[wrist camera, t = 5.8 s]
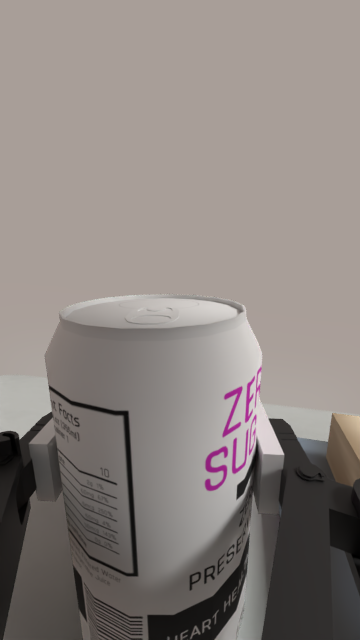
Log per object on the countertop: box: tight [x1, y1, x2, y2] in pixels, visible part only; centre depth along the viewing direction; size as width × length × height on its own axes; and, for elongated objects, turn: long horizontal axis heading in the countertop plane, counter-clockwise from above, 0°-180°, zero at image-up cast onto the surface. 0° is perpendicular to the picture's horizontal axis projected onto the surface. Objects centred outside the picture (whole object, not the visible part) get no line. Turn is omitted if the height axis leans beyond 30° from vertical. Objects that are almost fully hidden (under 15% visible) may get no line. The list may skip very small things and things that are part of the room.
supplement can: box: [45, 294, 262, 640], centre depth 12 cm, size 8×8×15 cm
